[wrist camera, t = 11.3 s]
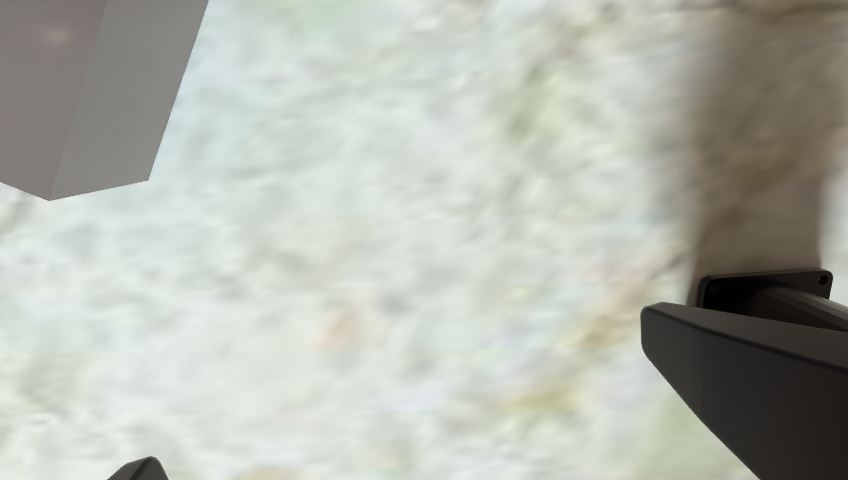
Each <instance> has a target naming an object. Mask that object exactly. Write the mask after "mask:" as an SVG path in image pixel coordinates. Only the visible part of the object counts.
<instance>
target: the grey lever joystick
mask: <svg viewBox="0 0 848 480" xmlns="http://www.w3.org/2000/svg"><path fill="white" fill-rule="evenodd" d="M207 3H208V0H0V182H2V183H4V184H7V185H9V186H12V187H14V188H17V189H20V190H22V191H25V192H27V193H30V194H32V195H35V196H37V197H40V198H42V199H45V200H48V201H51V200H56V199H61V198H66V197H70V196H75V195H80V194H85V193H90V192H95V191H99V190H104V189H109V188H114V187H119V186H123V185H128V184H133V183H138V182H143V181H148V179H149V176H150V173H151V170H152V167H153V164H154V161H155V158H156V155H157V152H158V149H159V146H160V143H161V140H162V137H163V134H164V131H165V128H166V125H167V122H168V119H169V116H170V113H171V110H172V107H173V104H174V101H175V98H176V95H177V92H178V89H179V86H180V83H181V81H182V78H183V75H184V72H185V69H186V66H187V63H188V60H189V57H190V54H191V51H192V48H193V45H194V42H195V39H196V36H197V33H198V30H199V27H200V24H201V21H202V18H203V15H204V12H205V9H206V6H207Z"/></svg>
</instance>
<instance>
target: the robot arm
mask: <svg viewBox="0 0 848 480" xmlns="http://www.w3.org/2000/svg"><path fill="white" fill-rule="evenodd" d="M819 278H820V279H819ZM832 281H833V275H832V273H831V272H829V271H827V270H824V269H821V268H809V269H795V270H782V271H768V272H754V273H740V274H727V275H713V276H707V277H705V278H704V279H703V280H702V281H701V282H700V285H699V292H698V301H697V307H691V306H685V305H679V304H673V303H667V302H659V303H656V304H653V305H650V306H646V307H644V308H643V309H642V311H641V314H640V319H641V343H642V348H643V351H644V353H645V355H646V356H647V358H648V359H649V360H650V361H651V362H652V364H653V365H654V366H655V367H656V368H657V370H658V371H659V372H660V373H661V374H662V376H663V377H664V378H665V379H666V380H667V382H668V383H669V384H670V385H671V386H672V387H673V389H674V390H675V391H676V392H677V393H678V395H679V396H680V397H681V398H682V399H683V401H684V402H685V403H686V404H687V405H688V407H689V408H690V409H691V410H692V411H693V412H694V413H695V415H696V416H697V417H698V418H699V419H700V420H701V421H702V422H703V423H704V424H705V425H706V426H707V428H708V429H709V430H710V431H711V432H712V433H713V434H714V435H715V436H716V437H717V438H718V439H719V440H720V441H721V442H722V443H723V444H724V445H725V446H726V447H727V448H728V449H729V450H730V451H731V452H732V453H733V454H734V455H736V456H737V457H738V458H739V459H740V460H741V461H742V462H743V463H744V464H745V465H746V466H747V467H748V468H749V469H750V470H751V471H752V472H753V473H754V474H755V475H756V476H757V477H758V478H759V479H760V480H848V307H846V306H844V305H841V304H838V303H836V302H833V301H831V300H829V297H830V291H831V286H832ZM712 284H714V287H713V288H712V289H711V290H710V287H711V285H712ZM107 480H169V479H168V477H167V475H166V473H165V471H164V469H163V467H162V465H161V463H160V462H159V460H158V459H157V458H156V457H152V456H149V457H146V458H143V459H139V460H136V461H133V462H129V463H127V464H125V465H124V466H122V467H121V468H120V469H119V470H118V471H117V472H116V473H114V474H113V475H112V476H111V477H110V478H109V479H107Z"/></svg>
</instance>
